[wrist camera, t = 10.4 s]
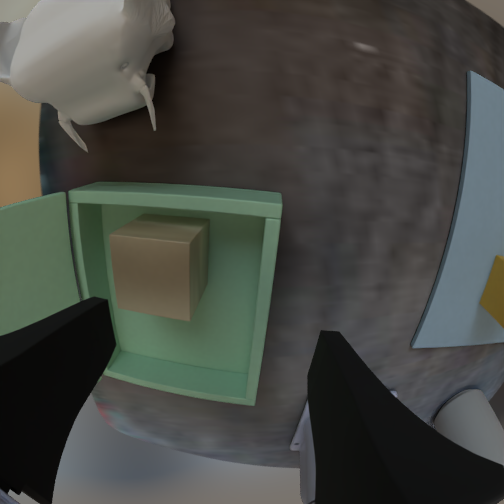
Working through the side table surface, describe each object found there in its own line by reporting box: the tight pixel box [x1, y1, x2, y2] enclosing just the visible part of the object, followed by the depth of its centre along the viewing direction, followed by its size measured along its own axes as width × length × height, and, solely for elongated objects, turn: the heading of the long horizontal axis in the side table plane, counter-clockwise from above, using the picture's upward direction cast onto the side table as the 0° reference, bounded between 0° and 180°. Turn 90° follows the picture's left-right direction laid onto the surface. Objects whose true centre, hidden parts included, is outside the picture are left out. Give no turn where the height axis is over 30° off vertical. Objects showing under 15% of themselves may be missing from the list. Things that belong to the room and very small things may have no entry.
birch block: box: [109, 214, 210, 321], centre depth 15 cm, size 4×4×4 cm
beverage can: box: [434, 389, 504, 466], centre depth 16 cm, size 6×6×12 cm
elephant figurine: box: [0, 0, 175, 152], centre depth 9 cm, size 10×12×9 cm
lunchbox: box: [68, 182, 283, 406], centre depth 17 cm, size 11×13×3 cm
